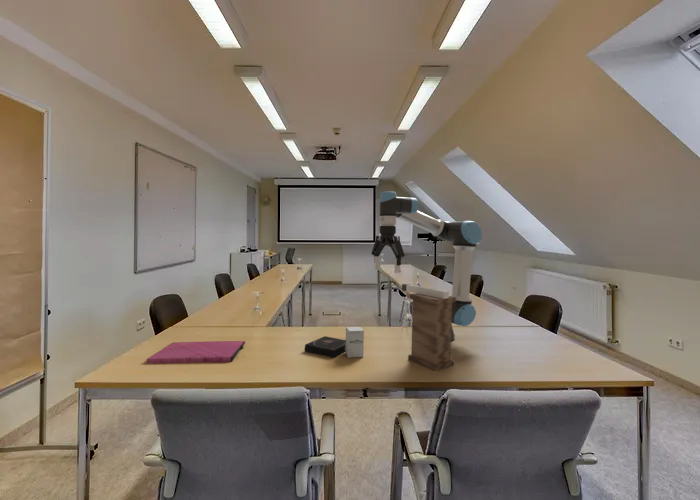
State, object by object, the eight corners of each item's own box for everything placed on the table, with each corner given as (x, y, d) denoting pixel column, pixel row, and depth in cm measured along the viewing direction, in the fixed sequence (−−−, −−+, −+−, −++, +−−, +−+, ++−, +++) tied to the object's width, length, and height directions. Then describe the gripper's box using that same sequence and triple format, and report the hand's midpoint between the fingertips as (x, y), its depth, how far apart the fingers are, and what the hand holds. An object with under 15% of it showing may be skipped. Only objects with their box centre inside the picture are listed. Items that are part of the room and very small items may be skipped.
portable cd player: (323, 343, 183) (323, 336, 183) (352, 349, 175) (352, 341, 174) (304, 352, 169) (304, 344, 169) (334, 359, 160) (334, 350, 160)
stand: (426, 354, 167) (428, 292, 166) (453, 365, 154) (455, 297, 153) (408, 359, 160) (409, 294, 159) (434, 370, 147) (436, 299, 146)
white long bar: (406, 289, 172) (406, 283, 172) (448, 298, 150) (449, 291, 150) (401, 290, 170) (402, 284, 170) (444, 298, 149) (444, 291, 148)
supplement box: (347, 358, 161) (348, 330, 160) (345, 352, 168) (345, 326, 167) (363, 357, 162) (364, 330, 161) (360, 352, 169) (360, 326, 169)
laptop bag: (145, 355, 150) (171, 338, 177) (145, 365, 150) (171, 346, 177) (241, 353, 154) (252, 337, 181) (241, 362, 154) (252, 344, 181)
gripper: (364, 225, 170) (364, 269, 171) (400, 224, 150) (400, 274, 151) (376, 226, 174) (375, 268, 175) (413, 225, 154) (412, 273, 155)
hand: (387, 271), depth 163 cm, fingers open, 13 cm apart
